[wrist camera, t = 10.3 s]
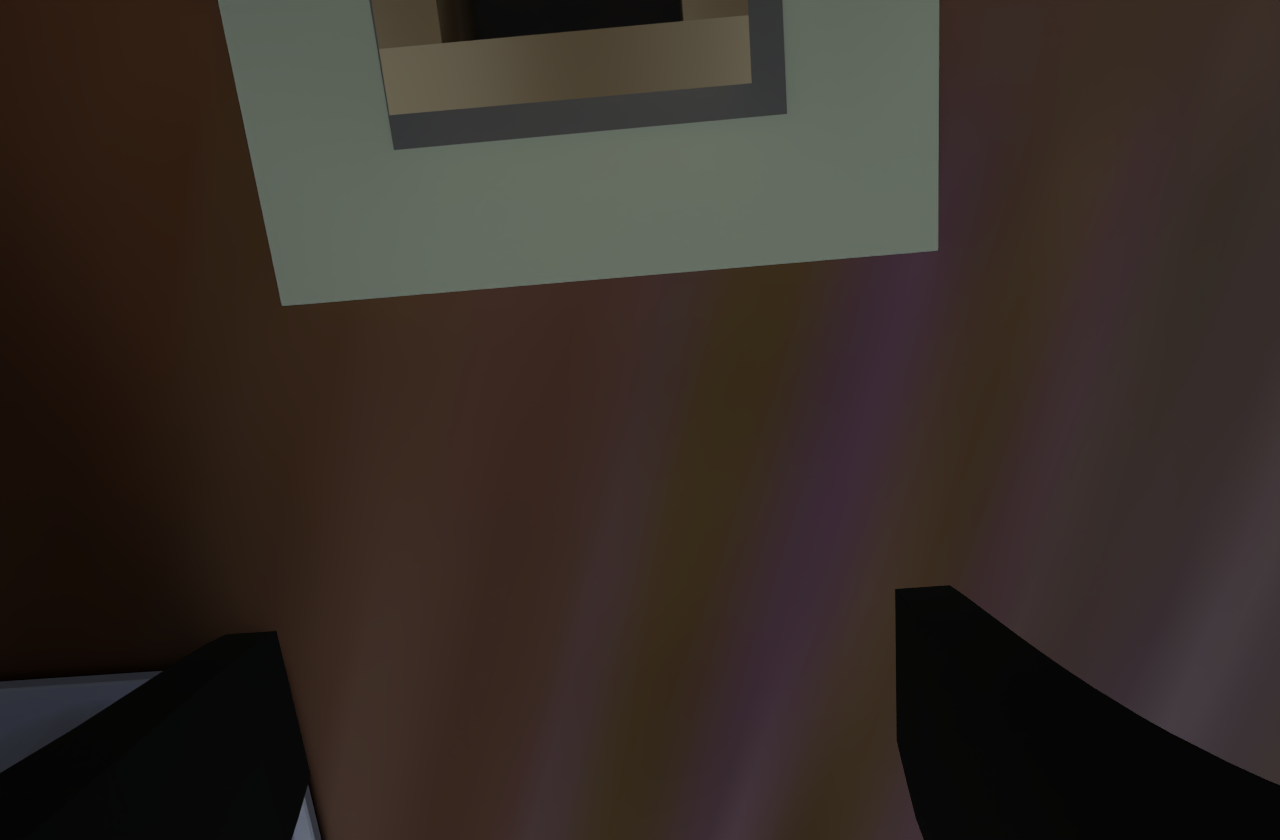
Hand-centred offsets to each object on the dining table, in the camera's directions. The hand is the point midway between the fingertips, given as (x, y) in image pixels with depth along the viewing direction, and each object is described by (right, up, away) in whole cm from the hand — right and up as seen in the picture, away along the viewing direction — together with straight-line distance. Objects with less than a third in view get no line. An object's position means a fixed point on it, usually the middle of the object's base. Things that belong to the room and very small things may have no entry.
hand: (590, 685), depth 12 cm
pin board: (-1, +12, +6) cm, 13 cm away
